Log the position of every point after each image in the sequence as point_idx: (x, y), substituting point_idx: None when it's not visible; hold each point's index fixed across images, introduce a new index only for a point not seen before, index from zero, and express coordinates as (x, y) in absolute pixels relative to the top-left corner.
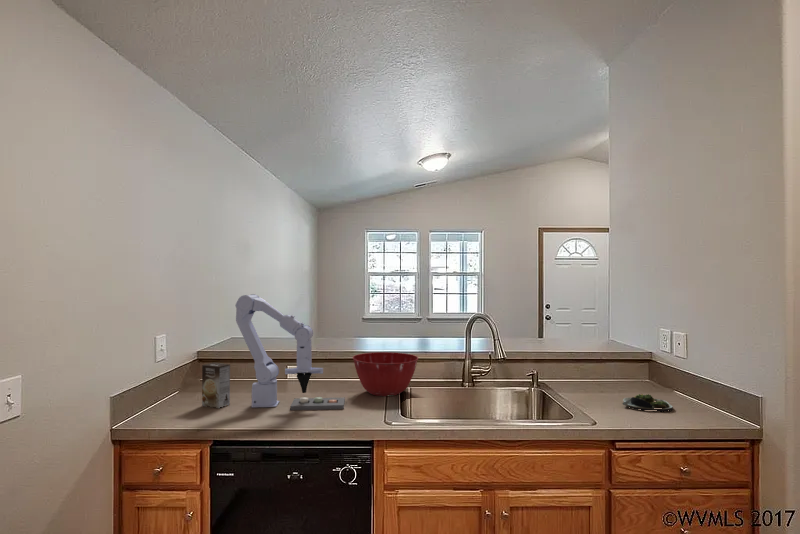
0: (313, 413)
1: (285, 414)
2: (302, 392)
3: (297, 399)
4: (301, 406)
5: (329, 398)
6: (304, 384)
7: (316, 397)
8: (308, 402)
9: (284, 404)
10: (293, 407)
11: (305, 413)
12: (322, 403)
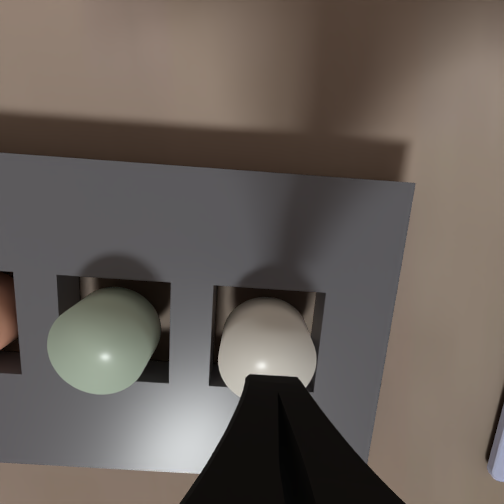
0: (153, 11)
1: (449, 18)
2: (297, 378)
3: None
4: (289, 174)
5: (15, 436)
6: (274, 468)
7: (124, 381)
8: None
9: (441, 397)
10: (374, 181)
11: (239, 26)
12: (61, 249)
